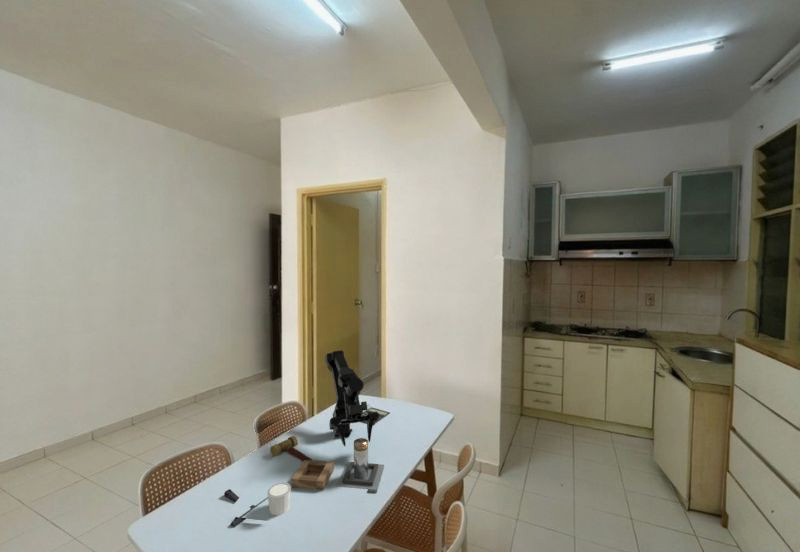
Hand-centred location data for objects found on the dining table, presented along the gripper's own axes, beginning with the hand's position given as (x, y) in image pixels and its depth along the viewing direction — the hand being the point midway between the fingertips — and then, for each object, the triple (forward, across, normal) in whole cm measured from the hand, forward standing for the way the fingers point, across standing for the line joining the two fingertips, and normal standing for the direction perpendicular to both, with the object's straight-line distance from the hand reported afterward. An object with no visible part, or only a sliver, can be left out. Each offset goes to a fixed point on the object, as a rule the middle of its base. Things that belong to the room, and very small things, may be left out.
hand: (357, 443), depth 129 cm
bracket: (+12, -39, +1) cm, 41 cm away
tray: (+11, 0, +1) cm, 11 cm away
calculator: (-20, +14, +34) cm, 42 cm away
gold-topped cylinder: (+10, 0, +1) cm, 10 cm away
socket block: (+9, -16, +4) cm, 19 cm away
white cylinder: (+17, -27, -5) cm, 32 cm away
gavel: (-2, -21, +16) cm, 27 cm away
